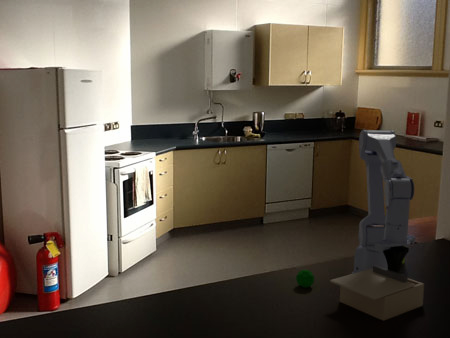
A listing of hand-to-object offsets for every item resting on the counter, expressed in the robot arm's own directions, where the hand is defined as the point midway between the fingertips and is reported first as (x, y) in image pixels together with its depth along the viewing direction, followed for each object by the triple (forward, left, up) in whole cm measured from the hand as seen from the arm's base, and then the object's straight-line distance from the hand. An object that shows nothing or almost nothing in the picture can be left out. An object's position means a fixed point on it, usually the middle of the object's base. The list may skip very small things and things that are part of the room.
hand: (393, 273), depth 141 cm
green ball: (-20, -12, -8) cm, 25 cm away
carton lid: (0, -8, -1) cm, 9 cm away
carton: (0, -4, -7) cm, 9 cm away
